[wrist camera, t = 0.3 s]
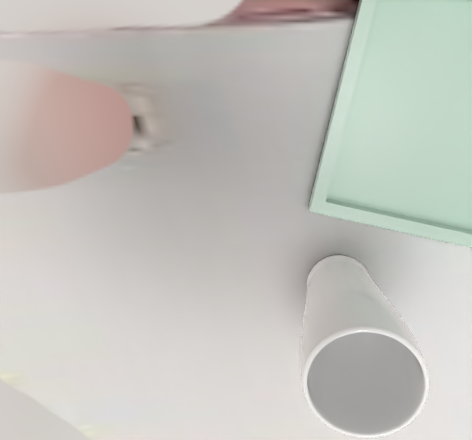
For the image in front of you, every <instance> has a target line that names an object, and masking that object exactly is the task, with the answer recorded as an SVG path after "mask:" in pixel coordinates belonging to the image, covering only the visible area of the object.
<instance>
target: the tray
mask: <svg viewBox="0 0 472 440" xmlns="http://www.w3.org/2000/svg"><path fill="white" fill-rule="evenodd" d="M308 206H309V212H313V213H318V214H322V215H327V216H331V217H336V218H340V219H344V220H349V221H353V222H358V223H362V224H367V225H371V226H376V227H380V228H385V229H389V230H394V231H398V232H403V233H407V234H412V235H416V236H421V237H425V238H430V239H434V240H438V241H443V242H447V243H452V244H456V245H461V246H465V247H470V248H472V0H359V4H358V8H357V12H356V16H355V20H354V24H353V28H352V32H351V36H350V40H349V44H348V48H347V52H346V56H345V60H344V64H343V68H342V72H341V76H340V80H339V84H338V88H337V92H336V96H335V101H334V105H333V109H332V113H331V117H330V121H329V125H328V129H327V133H326V137H325V141H324V145H323V149H322V153H321V157H320V161H319V165H318V169H317V173H316V177H315V181H314V185H313V189H312V193H311V197H310V201H309V205H308Z"/></svg>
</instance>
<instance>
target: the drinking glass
mask: <svg viewBox="0 0 472 440" xmlns="http://www.w3.org/2000/svg"><path fill="white" fill-rule="evenodd" d="M300 370H301V379H302V388H303V393H304V396H305V399H306V402H307V404H308V406H309V407H310V409H311V410H312V412H313V413H314V414H315V416H316V417H317V418H318V419H319V420H320V421H322V422H323V423H324V424H325V425H327V426H328V427H330V428H331V429H333V430H335V431H337V432H339V433H342V434H345V435H348V436H352V437H358V438H377V437H383V436H387V435H390V434H393V433H395V432H398V431H399V430H401V429H403V428H405V427H406V426H408V425H409V424H410V423H411V422H413V421H414V420H415V419H416V417H417V416H418V415H419V414H420V412H421V411H422V410H423V408H424V406H425V404H426V401H427V399H428V395H429V390H430V377H429V372H428V368H427V365H426V363H425V361H424V358H423V356H422V354H421V351H420V349H419V347H418V345H417V343H416V341H415V339H414V337H413V335H412V333H411V331H410V330H409V328H408V326H407V325H406V323H405V321H404V320H403V318H402V317H401V316H400V314H399V313H398V312H397V310H396V309H395V308H394V306H393V305H392V304H391V303H390V301H389V300H388V299H387V298H386V296H385V295H384V294H383V293H382V291H381V290H380V289H379V287H378V286H377V285H376V284H375V282H374V281H373V280H372V278H371V277H370V275H369V273H368V271H367V270H366V268H365V267H364V266H363V265H362V264H361V263H360V262H359V261H357V260H355V259H353V258H351V257H348V256H343V255H335V256H330V257H327V258H324V259H322V260H321V261H319V262H318V263H317V264H316V265H315V266H314V267H313V268H312V269H311V271H310V273H309V275H308V278H307V295H306V302H305V309H304V315H303V322H302V328H301V336H300Z"/></svg>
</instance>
